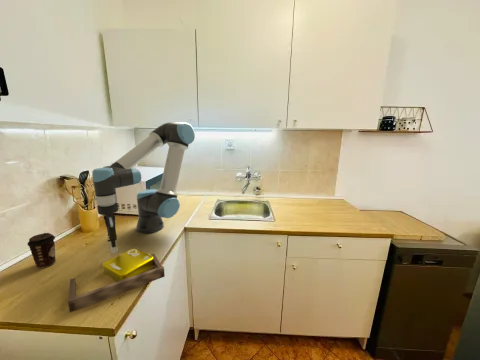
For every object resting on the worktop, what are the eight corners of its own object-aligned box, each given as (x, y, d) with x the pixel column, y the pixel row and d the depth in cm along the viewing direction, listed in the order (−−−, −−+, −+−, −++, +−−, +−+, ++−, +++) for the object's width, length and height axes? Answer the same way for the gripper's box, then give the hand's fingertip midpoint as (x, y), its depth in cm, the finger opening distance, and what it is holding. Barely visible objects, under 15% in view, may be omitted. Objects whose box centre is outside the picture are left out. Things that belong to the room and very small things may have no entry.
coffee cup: (57, 256, 98) (52, 230, 95) (61, 263, 93) (56, 235, 90) (31, 264, 91) (25, 237, 89) (34, 272, 86) (28, 243, 83)
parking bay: (154, 259, 97) (154, 251, 96) (164, 276, 85) (164, 267, 84) (71, 286, 79) (69, 276, 78) (69, 312, 68) (67, 301, 67)
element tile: (101, 273, 88) (100, 262, 86) (135, 255, 100) (134, 246, 99) (123, 286, 80) (121, 275, 79) (156, 265, 93) (155, 255, 92)
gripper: (95, 201, 95) (103, 248, 100) (98, 210, 85) (106, 262, 90) (114, 198, 99) (120, 243, 105) (119, 206, 89) (126, 255, 95)
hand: (114, 252), depth 97 cm, fingers closed
